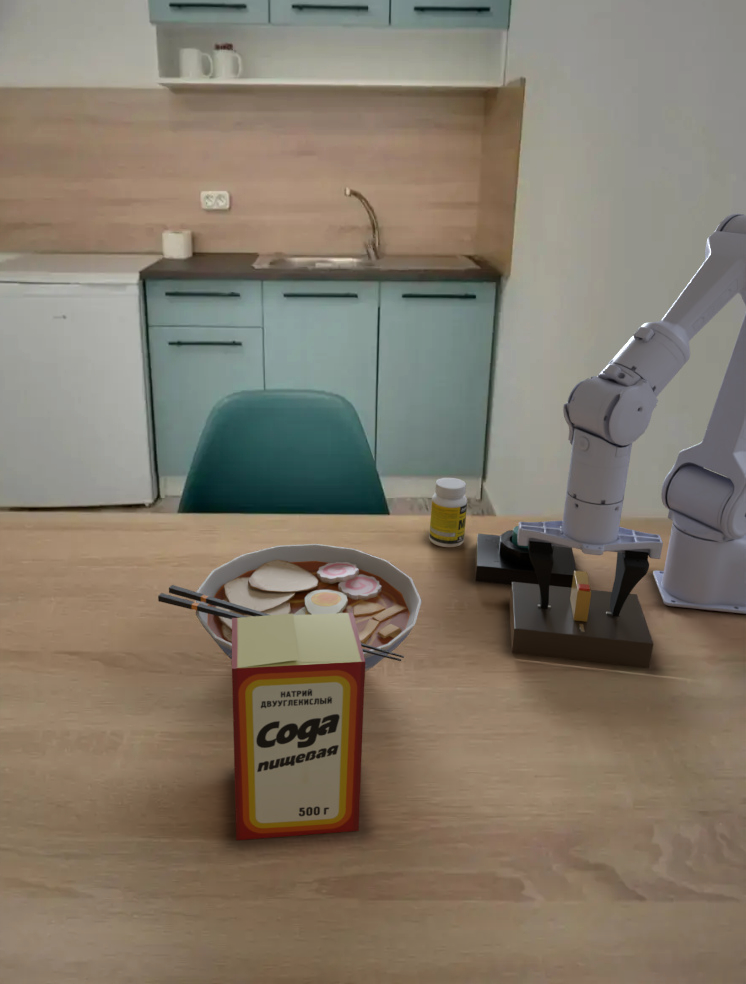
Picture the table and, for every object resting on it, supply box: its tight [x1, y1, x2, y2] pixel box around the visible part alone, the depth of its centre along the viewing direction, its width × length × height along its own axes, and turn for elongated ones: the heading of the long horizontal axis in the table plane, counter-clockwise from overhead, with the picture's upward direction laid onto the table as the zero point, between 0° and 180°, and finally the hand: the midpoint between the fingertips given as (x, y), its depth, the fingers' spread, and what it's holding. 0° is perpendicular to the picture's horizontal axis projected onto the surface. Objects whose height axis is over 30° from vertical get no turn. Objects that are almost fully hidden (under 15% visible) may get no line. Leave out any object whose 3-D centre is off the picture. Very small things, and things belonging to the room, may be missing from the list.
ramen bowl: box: [157, 543, 423, 673], centre depth 85 cm, size 25×23×8 cm
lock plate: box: [508, 582, 654, 669], centre depth 91 cm, size 14×10×3 cm
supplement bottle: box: [428, 477, 468, 548], centre depth 111 cm, size 5×5×8 cm
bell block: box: [474, 529, 578, 588], centre depth 104 cm, size 12×9×4 cm
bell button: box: [512, 525, 529, 549], centre depth 104 cm, size 4×4×2 cm
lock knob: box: [570, 570, 592, 622], centre depth 90 cm, size 4×1×4 cm, turn 170°
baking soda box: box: [231, 613, 366, 841], centre depth 64 cm, size 10×6×16 cm
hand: (578, 607), depth 90 cm, fingers open, 7 cm apart
